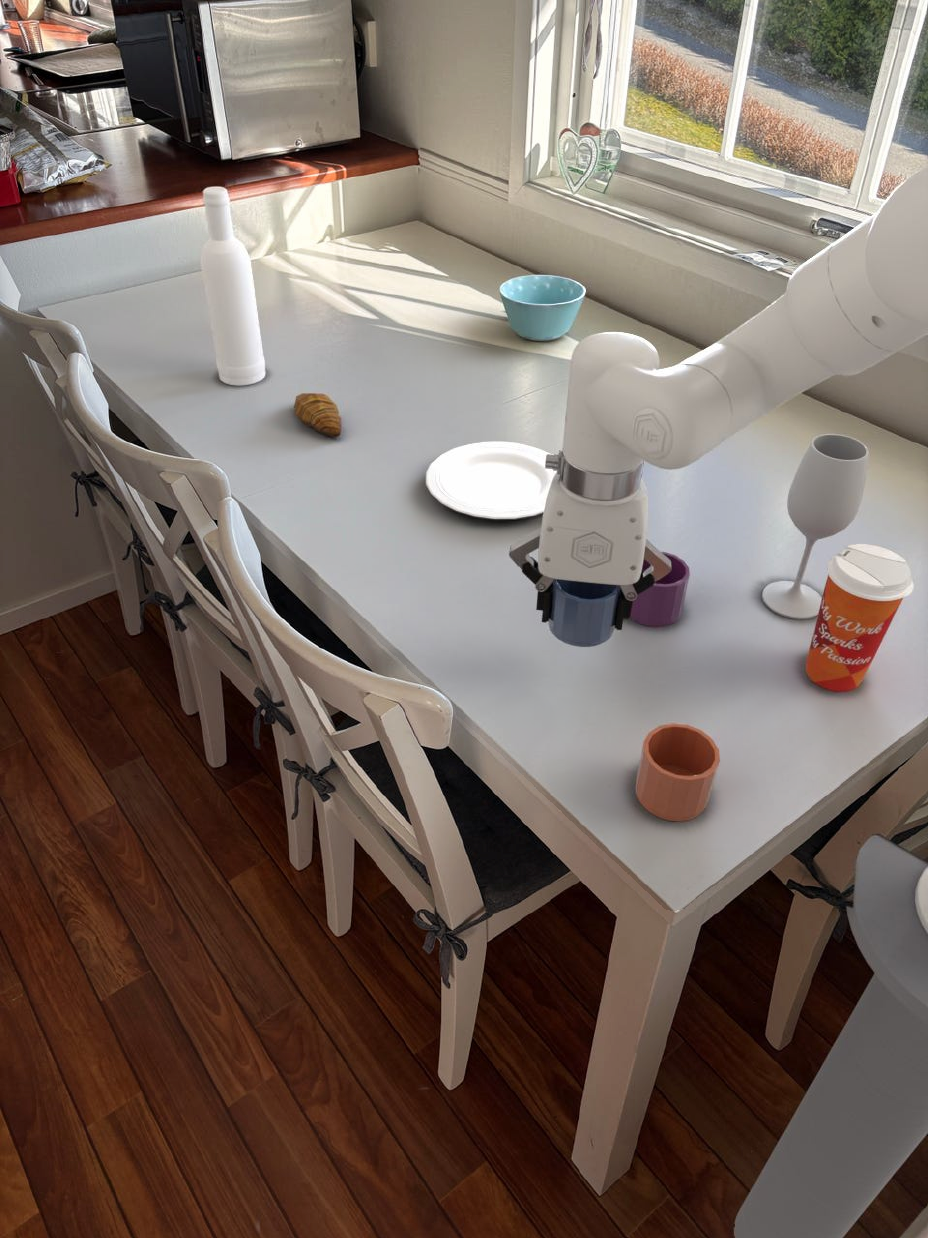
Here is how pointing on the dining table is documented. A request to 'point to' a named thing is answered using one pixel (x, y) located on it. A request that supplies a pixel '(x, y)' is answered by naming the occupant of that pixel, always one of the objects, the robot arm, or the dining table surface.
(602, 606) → the blue faceted cup
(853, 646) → the coffee cup
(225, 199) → the bottle
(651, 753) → the terracotta cup
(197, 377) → the dining table surface
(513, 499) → the plate
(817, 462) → the wineglass
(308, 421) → the croissant
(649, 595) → the plum cup
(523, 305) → the bowl
